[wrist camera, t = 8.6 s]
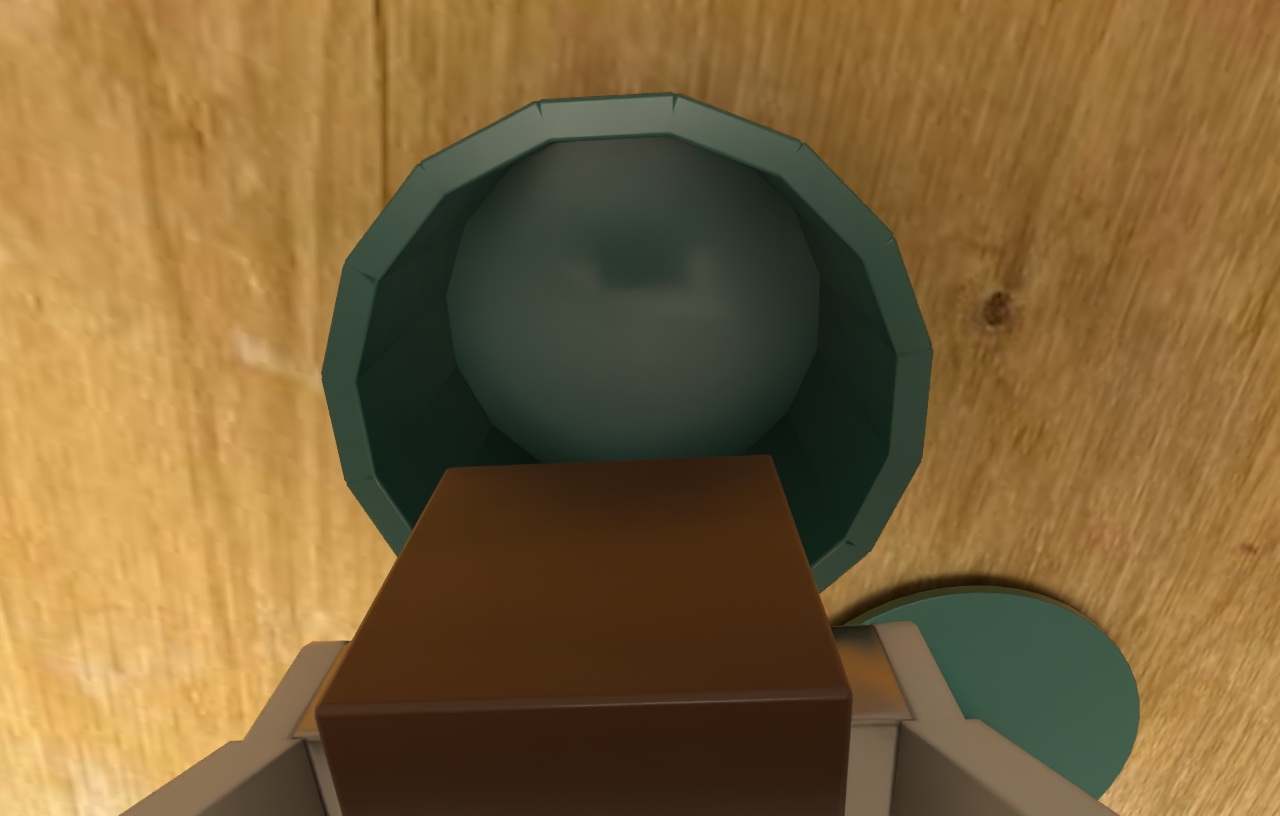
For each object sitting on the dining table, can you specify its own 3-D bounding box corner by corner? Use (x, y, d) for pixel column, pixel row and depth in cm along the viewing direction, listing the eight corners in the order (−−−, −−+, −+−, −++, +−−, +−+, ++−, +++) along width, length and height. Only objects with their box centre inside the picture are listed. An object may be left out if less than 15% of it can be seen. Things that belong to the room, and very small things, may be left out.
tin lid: (771, 582, 29) (797, 687, 24) (1157, 568, 28) (1271, 673, 23) (766, 847, 34) (786, 980, 29) (1089, 839, 34) (1169, 973, 29)
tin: (396, 109, 23) (260, 115, 15) (851, 84, 22) (962, 75, 14) (460, 505, 28) (385, 665, 20) (830, 490, 27) (903, 649, 19)
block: (446, 465, 10) (308, 710, 6) (772, 452, 10) (856, 694, 6) (487, 715, 12) (401, 1040, 8) (768, 707, 12) (831, 1032, 8)
